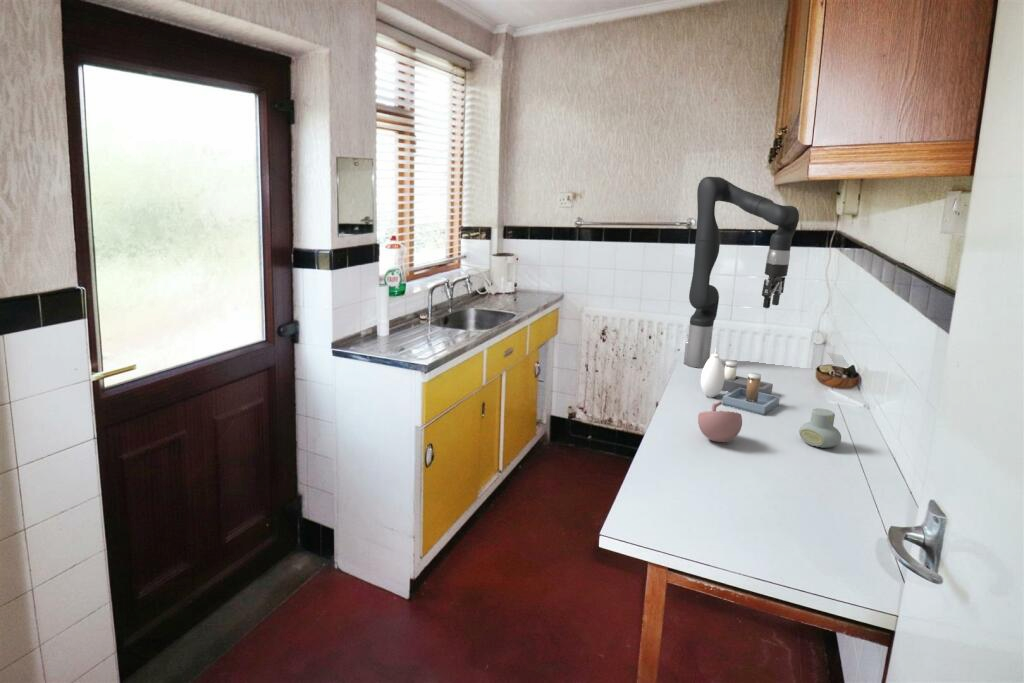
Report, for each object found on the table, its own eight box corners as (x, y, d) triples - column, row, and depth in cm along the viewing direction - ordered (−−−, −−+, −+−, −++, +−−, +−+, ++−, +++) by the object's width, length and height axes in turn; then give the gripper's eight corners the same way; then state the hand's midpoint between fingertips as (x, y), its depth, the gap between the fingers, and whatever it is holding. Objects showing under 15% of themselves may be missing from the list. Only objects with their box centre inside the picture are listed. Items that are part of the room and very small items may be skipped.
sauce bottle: (698, 398, 215) (704, 348, 210) (699, 391, 222) (704, 343, 217) (722, 401, 212) (728, 350, 208) (721, 394, 220) (727, 345, 215)
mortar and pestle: (732, 433, 184) (736, 397, 182) (745, 449, 173) (750, 411, 170) (691, 431, 185) (695, 395, 182) (701, 447, 173) (706, 409, 170)
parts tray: (722, 404, 209) (723, 396, 208) (738, 395, 219) (739, 387, 219) (763, 415, 200) (765, 406, 199) (778, 405, 210) (780, 397, 210)
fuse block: (712, 388, 226) (713, 377, 225) (722, 383, 233) (724, 372, 232) (762, 400, 215) (763, 389, 214) (771, 394, 222) (772, 383, 221)
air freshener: (792, 440, 181) (797, 407, 179) (809, 435, 185) (814, 403, 183) (827, 454, 172) (833, 420, 170) (844, 448, 176) (850, 415, 174)
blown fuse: (742, 402, 209) (746, 374, 207) (747, 399, 212) (751, 372, 210) (754, 405, 207) (758, 377, 204) (759, 402, 210) (763, 374, 207)
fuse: (720, 388, 227) (723, 361, 225) (725, 385, 230) (728, 359, 228) (731, 390, 224) (734, 364, 222) (735, 388, 227) (739, 362, 225)
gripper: (774, 259, 230) (767, 302, 235) (759, 262, 220) (752, 306, 224) (795, 262, 225) (788, 305, 230) (780, 265, 215) (773, 310, 219)
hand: (770, 306), depth 227 cm, fingers open, 8 cm apart
